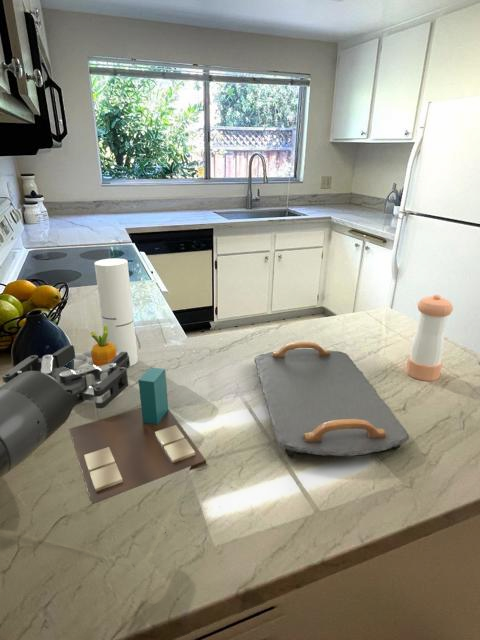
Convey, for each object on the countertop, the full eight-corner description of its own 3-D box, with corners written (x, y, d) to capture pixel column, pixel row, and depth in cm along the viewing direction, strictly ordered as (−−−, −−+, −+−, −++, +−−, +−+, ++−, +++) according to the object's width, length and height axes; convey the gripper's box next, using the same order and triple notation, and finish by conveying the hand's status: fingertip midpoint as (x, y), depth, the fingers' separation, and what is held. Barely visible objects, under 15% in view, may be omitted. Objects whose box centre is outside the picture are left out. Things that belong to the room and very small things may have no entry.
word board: (92, 508, 57) (90, 500, 57) (69, 432, 73) (68, 425, 73) (206, 463, 66) (206, 457, 65) (163, 404, 82) (162, 398, 81)
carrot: (100, 402, 82) (91, 334, 77) (94, 391, 86) (84, 326, 81) (124, 394, 85) (116, 329, 79) (117, 384, 89) (109, 321, 83)
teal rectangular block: (142, 422, 75) (138, 380, 72) (154, 407, 79) (150, 367, 76) (157, 424, 74) (153, 382, 71) (168, 409, 79) (165, 368, 75)
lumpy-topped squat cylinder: (121, 404, 82) (116, 366, 79) (54, 408, 80) (46, 370, 77) (127, 378, 91) (123, 344, 88) (67, 382, 90) (61, 347, 87)
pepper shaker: (400, 373, 94) (413, 295, 87) (413, 362, 99) (426, 288, 92) (432, 384, 89) (448, 302, 82) (444, 372, 94) (460, 295, 87)
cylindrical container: (113, 354, 103) (101, 258, 94) (141, 355, 102) (131, 258, 93) (103, 368, 96) (89, 265, 87) (133, 368, 96) (121, 266, 87)
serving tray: (251, 360, 100) (251, 337, 97) (342, 356, 102) (344, 334, 99) (280, 472, 64) (282, 440, 62) (419, 462, 66) (426, 431, 64)
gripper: (67, 400, 40) (142, 335, 54) (-51, 381, 43) (50, 324, 57) (78, 461, 42) (147, 383, 57) (-33, 439, 45) (59, 371, 60)
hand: (98, 354), depth 57 cm, fingers open, 8 cm apart
